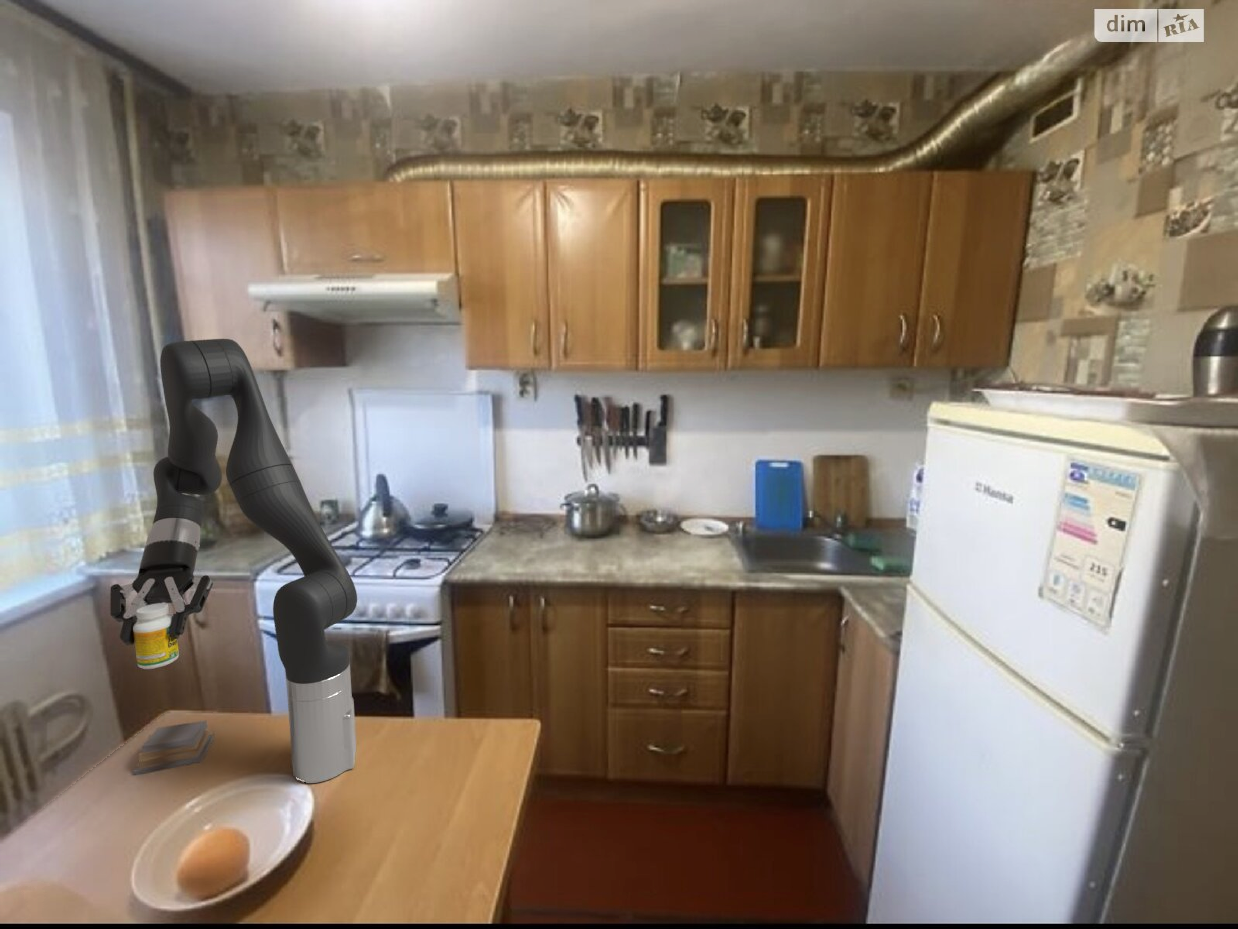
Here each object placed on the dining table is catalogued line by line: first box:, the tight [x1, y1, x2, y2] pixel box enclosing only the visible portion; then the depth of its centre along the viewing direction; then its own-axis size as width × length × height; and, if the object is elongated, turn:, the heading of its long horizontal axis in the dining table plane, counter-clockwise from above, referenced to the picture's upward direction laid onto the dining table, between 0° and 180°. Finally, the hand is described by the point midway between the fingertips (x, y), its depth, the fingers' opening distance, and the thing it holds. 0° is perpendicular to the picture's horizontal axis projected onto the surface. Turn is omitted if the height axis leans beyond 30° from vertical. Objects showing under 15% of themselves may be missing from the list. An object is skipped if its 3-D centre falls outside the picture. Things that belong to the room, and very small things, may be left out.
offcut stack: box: [133, 720, 215, 776], centre depth 92 cm, size 9×7×4 cm
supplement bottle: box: [133, 603, 180, 670], centre depth 89 cm, size 5×5×10 cm
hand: (151, 639), depth 87 cm, fingers closed on supplement bottle, 5 cm apart
